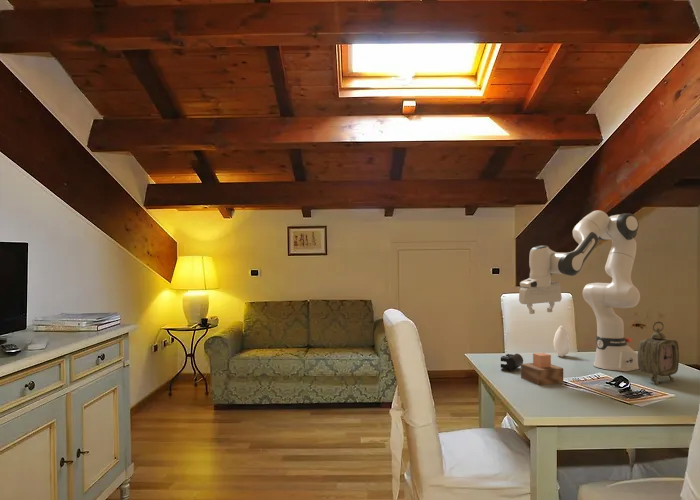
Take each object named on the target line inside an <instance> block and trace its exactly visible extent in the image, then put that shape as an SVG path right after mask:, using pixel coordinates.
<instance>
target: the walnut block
mask: <svg viewBox="0 0 700 500" xmlns="http://www.w3.org/2000/svg"><path fill="white" fill-rule="evenodd" d="M520 378H521V379H523V380H525V381H527V382H530V383H532V384H535V385H537V386H541V385H543V386H544V385H555V384H563V383H564V367H561V366H557V365H554V364H552V363H551V367H545V368H540V367H537V366H534V365H533V362H530V363H529V362H528V363H523V364H521V366H520Z"/></svg>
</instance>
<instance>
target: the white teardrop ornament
mask: <svg viewBox="0 0 700 500" xmlns="http://www.w3.org/2000/svg"><path fill="white" fill-rule="evenodd" d="M570 348H571V339H570V336H569V334H568V331H567V329H566V328H565V326H563V321H561V323H560V326H558V328H557V330H556V331H555V334H554V336H553V349H554V352H555V354H557V356H559V357H561V358H562V357H566V355H568V354H569V351H570Z"/></svg>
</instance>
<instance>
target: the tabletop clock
mask: <svg viewBox="0 0 700 500" xmlns="http://www.w3.org/2000/svg"><path fill="white" fill-rule="evenodd" d="M657 324H661V326H662V327H661V328H659V327H657V328H656V329H655V326H656V325H657ZM664 328H665V327H664V323H663V322H662V321H655V322H654V324H653V325H652V330H653V331H654V332H653V333H652V334H651V336H650V337H649V338H645V339H642V340H640V341H639V342H638V344H637V345H638V346H637V354H638V367H639V369H638V370H639V371H641V372H643V373H645V374H651V375H652V376H651V377H650V380H651V381H652V382H653V384H654V385H659V381H658V380H657V379H658V378H657V377H658V376H660V377H669V381H670V382H674V381H675V378H674V377H672V375H675V374H676V373H678V371H679V365H680V364H679V363H680V352H679V343H678V341H677V340H674V339H669V338H666V336H665V334H664V333H662V331H663V330H664Z"/></svg>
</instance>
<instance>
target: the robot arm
mask: <svg viewBox="0 0 700 500" xmlns="http://www.w3.org/2000/svg"><path fill="white" fill-rule="evenodd" d="M638 220H639V219H638V218H637V216H635V215H634V214H632V213H624V212H623V213H621V214H614V215H610V216H609V215H608V213H606V211H605V212H604V211H603V210H600V209H599V210H593V211H591V212H590V213H588V214H586V215H585V216H584V217H582V219H581V220H579V222H578V223H576V225H574V227H573V229H572V237H573V239H574V241H575V242H576V243H577V244H578V246H576V248H575V249H574V250H572V251H570V252H569V251H568V252H556V251H554V250H552V249H551V248H550V247H549V246H548V245H543V244H542V245H536V246H534V247H532V248H531V249H530V251H529V258H528V259H529V261H528V263H529V264H528V265H529V270H530V271H529V277H528V278H527V279H523V280H521V281H520V282H519V286H520V288H519V291H518V294H519V295H518V297H519V298H518V301H519V304H521V305H526V306H527V309H528V311H529V314H530V315H534V314H536V313H535V311H536V309H533V305H534V304H546V303H547V304H549V305H548V307H546V312H547V313H553V308H554V307H555V303H558V302H561V300H563V299H562V290H561V283H560V282H559V281H557V280H554V281H552V278H551V277H552V276H551V274H554V275H555V274H556V275H565V276H570V277H572V276H576V275H578V274H579V273H580V272H581V270H582V268H583V265H584V263H585V262H586V260H587V259H588V257H589V256H590V255H591V253H592V252H593V250H594V249H595V248H596V246H597V244H598V242H599V240H600V241H608V240H611V248H610V250H609V253H608V255H607V260H606V263H605V266H604V270H605V273H606V274H607V275H608V276H609V277H610V278H611V282H591V283H587V284H585V286H584V287H583V289H582V297H583V300H584V301H585V303H586V304H588V305H589V306H590V309H592V311H593V314H594V316H595V319H596V330H597V331H596V334H597V335H596V336H595V343H596V350H595V358H594V362H593V366H594V367H596V368H599V369H604V370H607V371H620V372H630V371H635V370H640V369H639V367H638V352H636V351H635V350H634V349H633V348H631V347H630V346H629V345H628V343H631V342H632V341H633V340H632V338H630V337H625V332H624V331H625V329H624V327H625V326H624V320H623V318H622V317H621V316H619V315H617V314H616V312H615V310H614V308H618V309H619V308H620V309H628V308H629V309H630V308H635V307H636V306H638V304H639V302H640V301H641V293H640V291H639V289H638V288H637V287H636V285H634V283H633V281H632V271H633V267H634V262H635V258H636V255H637V241H636V240H635V238H636V236H637V235H638V231H639V221H638Z"/></svg>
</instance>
